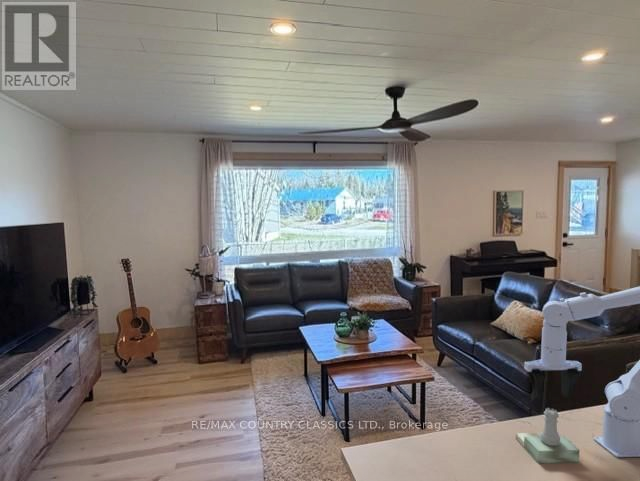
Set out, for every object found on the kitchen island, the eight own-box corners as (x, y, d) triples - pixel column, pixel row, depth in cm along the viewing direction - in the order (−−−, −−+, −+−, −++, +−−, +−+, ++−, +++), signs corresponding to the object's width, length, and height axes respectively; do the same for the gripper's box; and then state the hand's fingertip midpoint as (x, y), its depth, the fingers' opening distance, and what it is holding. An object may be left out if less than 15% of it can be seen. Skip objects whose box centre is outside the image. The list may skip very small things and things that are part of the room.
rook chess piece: (563, 448, 96) (565, 415, 96) (543, 446, 97) (545, 414, 96) (556, 437, 101) (557, 406, 100) (536, 435, 101) (538, 405, 101)
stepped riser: (552, 437, 106) (553, 426, 105) (578, 461, 96) (579, 449, 95) (515, 438, 105) (516, 427, 105) (537, 463, 95) (538, 450, 95)
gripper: (570, 341, 111) (567, 388, 112) (518, 342, 110) (517, 389, 112) (588, 350, 104) (585, 400, 105) (533, 351, 103) (531, 402, 105)
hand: (551, 396), depth 108 cm, fingers open, 7 cm apart
